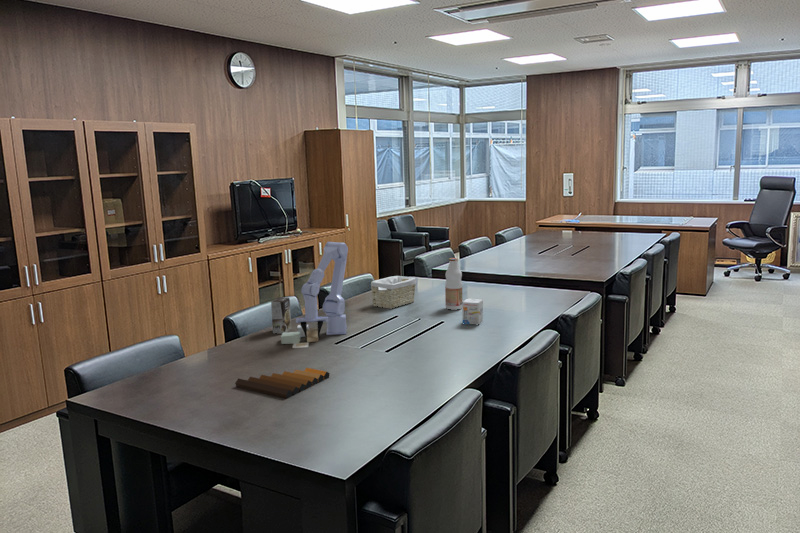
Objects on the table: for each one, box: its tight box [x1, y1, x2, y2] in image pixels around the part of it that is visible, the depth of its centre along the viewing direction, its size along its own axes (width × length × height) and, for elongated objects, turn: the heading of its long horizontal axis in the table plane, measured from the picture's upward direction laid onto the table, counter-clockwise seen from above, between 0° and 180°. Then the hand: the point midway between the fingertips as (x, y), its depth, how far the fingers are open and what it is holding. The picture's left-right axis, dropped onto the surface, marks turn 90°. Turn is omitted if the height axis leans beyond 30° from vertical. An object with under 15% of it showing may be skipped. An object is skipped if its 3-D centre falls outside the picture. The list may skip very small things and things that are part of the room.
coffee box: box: [270, 297, 292, 335], centre depth 304 cm, size 9×6×16 cm
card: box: [292, 342, 310, 349], centre depth 281 cm, size 7×7×1 cm
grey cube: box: [296, 323, 310, 338], centre depth 296 cm, size 5×5×5 cm
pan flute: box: [234, 367, 331, 399], centre depth 234 cm, size 25×3×25 cm
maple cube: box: [306, 327, 320, 343], centre depth 287 cm, size 5×5×5 cm
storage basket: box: [370, 275, 417, 310], centre depth 355 cm, size 24×16×15 cm
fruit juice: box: [444, 257, 463, 311], centre depth 340 cm, size 9×9×28 cm
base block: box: [280, 331, 301, 345], centre depth 287 cm, size 8×8×4 cm
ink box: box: [461, 298, 484, 325], centre depth 311 cm, size 9×8×12 cm
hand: (312, 337), depth 288 cm, fingers closed on maple cube, 5 cm apart
